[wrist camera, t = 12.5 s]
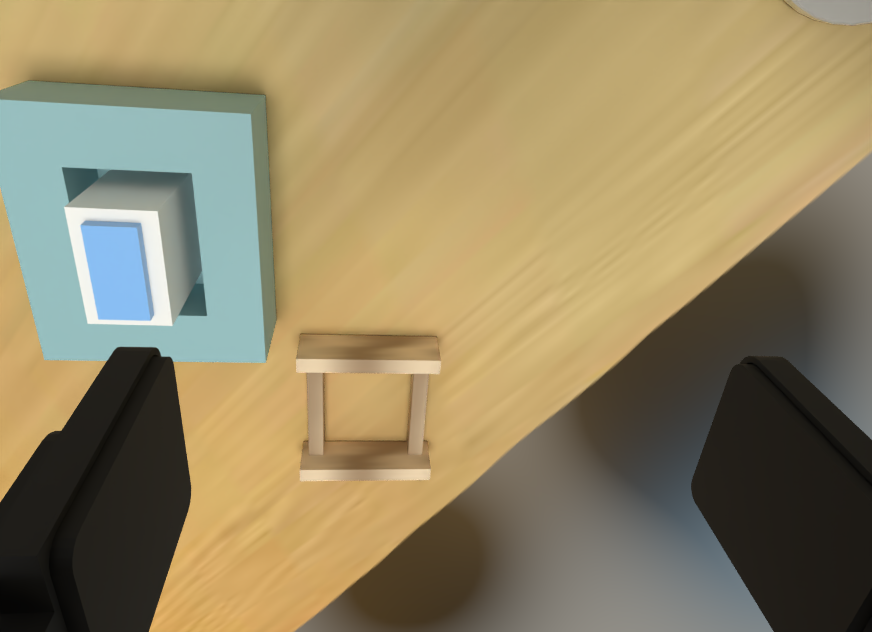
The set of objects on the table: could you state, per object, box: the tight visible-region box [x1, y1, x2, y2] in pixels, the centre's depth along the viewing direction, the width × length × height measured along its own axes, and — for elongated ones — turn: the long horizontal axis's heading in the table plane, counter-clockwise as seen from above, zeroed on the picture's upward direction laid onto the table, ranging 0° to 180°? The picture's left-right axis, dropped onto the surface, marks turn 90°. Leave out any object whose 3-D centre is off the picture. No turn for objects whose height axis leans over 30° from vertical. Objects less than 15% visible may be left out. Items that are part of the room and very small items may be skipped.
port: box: [0, 81, 276, 363], centre depth 35 cm, size 12×14×5 cm
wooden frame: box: [296, 334, 441, 481], centre depth 43 cm, size 9×10×3 cm
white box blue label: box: [64, 170, 202, 326], centre depth 33 cm, size 4×6×8 cm, turn 175°
